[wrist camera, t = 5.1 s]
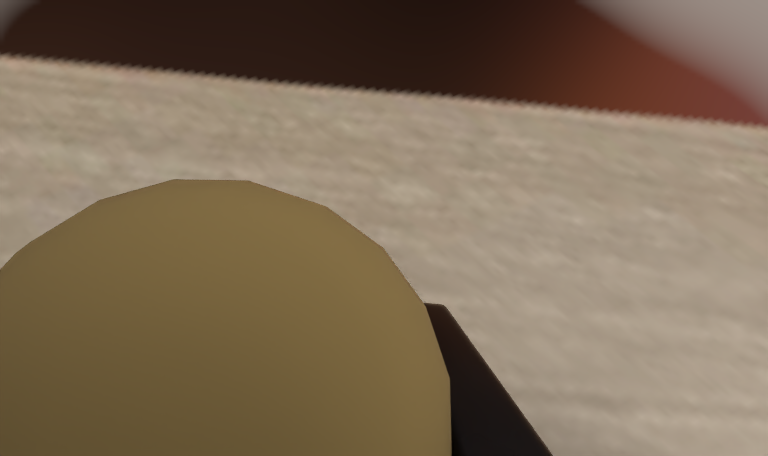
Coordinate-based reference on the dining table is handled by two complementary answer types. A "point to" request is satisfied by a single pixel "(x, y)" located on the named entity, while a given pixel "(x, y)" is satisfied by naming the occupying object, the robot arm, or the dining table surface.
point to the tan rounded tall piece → (215, 333)
